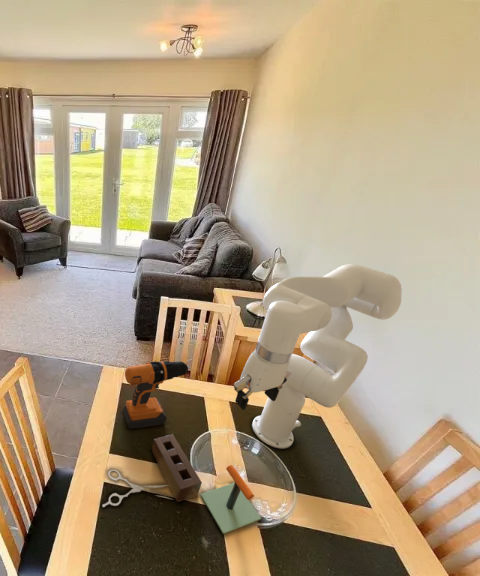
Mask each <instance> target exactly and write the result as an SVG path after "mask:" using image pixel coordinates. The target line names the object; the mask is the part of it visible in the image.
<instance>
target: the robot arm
mask: <svg viewBox="0 0 480 576" xmlns="http://www.w3.org/2000/svg"><path fill="white" fill-rule="evenodd" d="M402 290H403V289H402V284H401V282H400V280H399V279H398V278H397V277H396V276H394V275H392V274H390V273H386V272H383V271H379V270H377V269H373V268H370V267H367V266H363V265H359V264H354V263H346V264H343V265H340V266H338V267H336V268H335V269H334V270H332V271H330V272H328V273H327V274H324V275H322V276H317V275H316V276H315V275H313V276H291V277H287V278H285V279H283V280H281V281H279V282H277V283H276V284H274V285H273V286H271V287H270V288H269V289H268V290H267V291H266V292H265V294H264V296H263V299H262V306H263V308H264V310H265V311H266V314H265V317H264V320H263V324H262V327H261V329H260V333H259V336H258V339H257V342H256V345H255V348H254V351H252V352H251V353H250V354H249V357H248V358H247V361H246V362H245V365H244V367H243V369H242V372H241V375H240V377H239V380H237V381H236V382H234V383H233V389H234V391H235V393H237V394H236V398H235V400H234V401H235V404H237V406H239V407H240V409H241V410H242V411H245V410H246V409H247V407H248V405H249V404H248V403H249V400H250V398H249V397H250V396H251V395H252V394H253V393H261V392H263V391H264V394H265V396H266V397H267V399H266V401H265V403H264V407H263V408H262V412H261V415H257V416H255V417H254V419H253V421H252V424H251V427H252V430H253V432H254V434H255V435H256V436H257V438H258V439H259V440H260V441H262V443H264V444H266V445H269V446H271V447H273V448H276V449H288V448H290V447H291V446H292V445H293V443H294V440H295V438H294V434H293V430H295V429H296V428H299V427H301V426H302V423H301V421H300V420H298V419H299V416H300V414H301V412H302V410H303V408H304V407H305V404H306V397H307V398H308V399H310V400H312V401H313V402H315V403H317V404H318V405H320V406H322V407H324V408H327V409H330V408H333V407H335V406H337V405H338V404H339V403H340V401H341V400H342V399H343V398H344V396H345V395H346V394H347V392H348V391H349V390H350V389H351V387H352V386H353V384H354V383H355V381H356V380H357V379H358V377H359V376H360V375H361V373H362V372H363V370H364V369H365V367H366V365H367V363H368V353H367V352H366V351H365V349H363V347H360V346H359V345H356V344H355V343H352V342H350V341H348V340H346V339H347V338H348V337H349V336H350V334H351V333H352V331H353V329H354V323H353V319H352V317H351V314H350V313H349V310H348V309H351V310H353V311H356V312H359V313H361V314H363V315H366V316H369V317H371V318H374V319H377V320H381V321H383V320H384V321H385V320H388V319H390V318H392V317H393V316H394V315H395V314H396V313H397V312H398V311H399V309H400V307H401V304H402V292H403V291H402ZM303 334H306V335H305V337H304V338H303V339H302V341H301V343H300V345H299V346H300V347H299V349H300V351H301V352H302V354H303V355H305V356H306V357H308V358H309V359H311V360H313V361H314V362H317V363H318V364H320V365H322V366H324V367H325V368H327V369H329V370H332V371H333V372H331V371H329V370H327V369H325V368H323V367H322V366H320V365H318V364H316V363H314V362H313V361H311V360H309V359H307V358H305V357H303V356H302V355H299V354H295V353H294V350H295V347H296V345H297V342H298V340H299V337H300V335H303ZM245 388H246V389H248V390H247V391H246V392H245V391H244V389H245Z"/></svg>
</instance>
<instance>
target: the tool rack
mask: <svg viewBox="0 0 480 576" xmlns="http://www.w3.org/2000/svg"><path fill="white" fill-rule="evenodd" d="M151 447H152V448H151V453H152V455H153V457H154V459H155V461H156V463H157V465H158V467H159V469H160V471H161V473H162V475H163V477H164V479H165V481H166V483H167V485H169V486H168V487H169V489H170V491H171V492H172V495H173V496H174V498H175V499H174V500H176V503H180V502H182V501H186V500H188V499H191V498H195V497H197V496H199V494H200V491H201V490H200V489H201V487H202V484H203V482H202V480H201V479H200V477H199V475H198V474H197V472H196V471H195V468H194V467H193V465H192V463H191V462H190V460H189V459H188V457H187V455H186V453H185V452H184V451H183V449H182V447H181V445H180V444H179V442H178V440H177V439H176V437H175V435H174V434H173V433H172V434H168V435H165V436H161V437H156V438H154V439H153V442H152V446H151Z"/></svg>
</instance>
